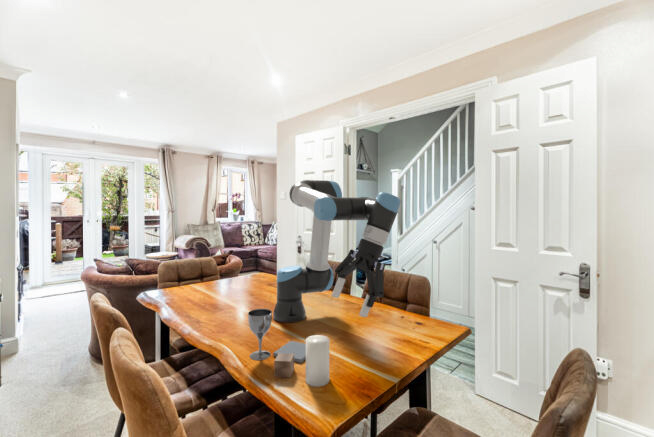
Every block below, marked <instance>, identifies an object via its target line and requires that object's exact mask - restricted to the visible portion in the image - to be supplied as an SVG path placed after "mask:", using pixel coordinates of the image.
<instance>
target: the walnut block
mask: <svg viewBox="0 0 654 437" xmlns="http://www.w3.org/2000/svg"><path fill="white" fill-rule="evenodd" d="M273 362H274V363H273V364H274V367H273V375H274V376H273V377H274V378H285V377H288V378H289V379H290V378H291V377H292V375H293V373H294V371H295V361H294V354H287V353H278V355H277V357H275V359H274V361H273Z"/></svg>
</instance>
